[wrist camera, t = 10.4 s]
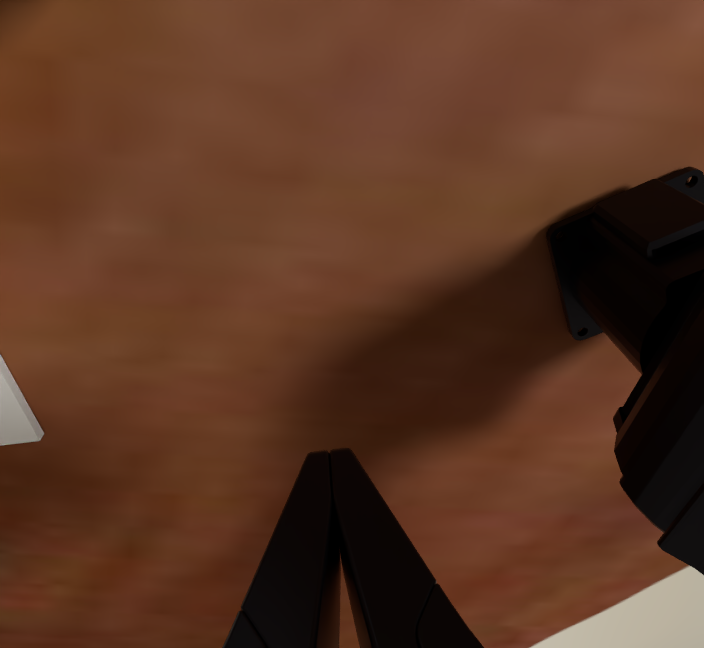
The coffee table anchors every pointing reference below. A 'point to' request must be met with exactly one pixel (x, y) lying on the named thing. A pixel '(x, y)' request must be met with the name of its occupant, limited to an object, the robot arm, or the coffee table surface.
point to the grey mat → (15, 412)
